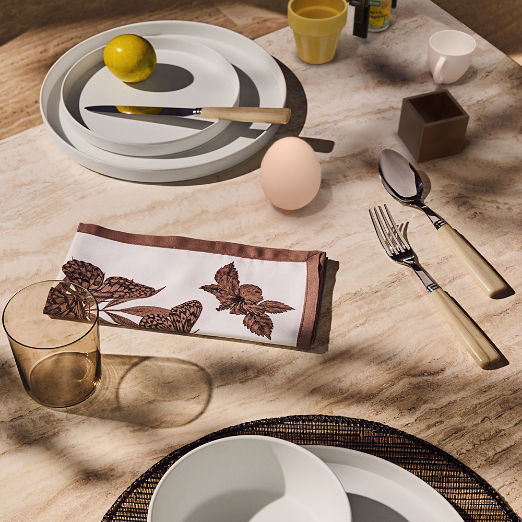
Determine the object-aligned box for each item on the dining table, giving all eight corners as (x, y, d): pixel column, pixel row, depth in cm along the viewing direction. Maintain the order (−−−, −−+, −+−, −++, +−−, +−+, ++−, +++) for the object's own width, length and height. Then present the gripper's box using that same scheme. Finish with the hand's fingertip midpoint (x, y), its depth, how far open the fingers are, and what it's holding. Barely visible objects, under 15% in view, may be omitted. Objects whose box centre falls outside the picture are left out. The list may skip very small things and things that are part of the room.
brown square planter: (438, 124, 111) (446, 88, 105) (460, 152, 106) (470, 116, 101) (397, 134, 109) (402, 97, 104) (417, 163, 105) (424, 126, 99)
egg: (294, 233, 96) (295, 172, 87) (248, 205, 100) (245, 145, 91) (331, 199, 100) (336, 138, 91) (286, 174, 104) (286, 113, 95)
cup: (474, 71, 120) (483, 37, 115) (453, 101, 114) (461, 67, 109) (433, 59, 123) (439, 25, 117) (411, 88, 117) (416, 54, 112)
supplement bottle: (386, 17, 132) (392, -31, 125) (390, 32, 129) (397, -17, 122) (358, 18, 132) (362, -30, 125) (362, 33, 129) (367, -16, 122)
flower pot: (304, 33, 129) (305, -16, 122) (353, 47, 126) (357, -3, 118) (277, 61, 124) (277, 11, 116) (328, 76, 120) (331, 26, 113)
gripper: (398, -128, 121) (384, -12, 138) (333, -76, 108) (327, 45, 125) (437, -120, 119) (419, -2, 135) (375, -65, 106) (363, 57, 122)
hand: (374, 21), depth 130 cm, fingers open, 12 cm apart
